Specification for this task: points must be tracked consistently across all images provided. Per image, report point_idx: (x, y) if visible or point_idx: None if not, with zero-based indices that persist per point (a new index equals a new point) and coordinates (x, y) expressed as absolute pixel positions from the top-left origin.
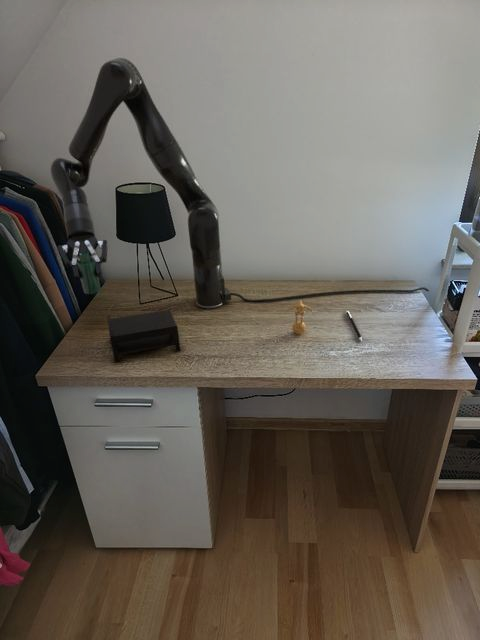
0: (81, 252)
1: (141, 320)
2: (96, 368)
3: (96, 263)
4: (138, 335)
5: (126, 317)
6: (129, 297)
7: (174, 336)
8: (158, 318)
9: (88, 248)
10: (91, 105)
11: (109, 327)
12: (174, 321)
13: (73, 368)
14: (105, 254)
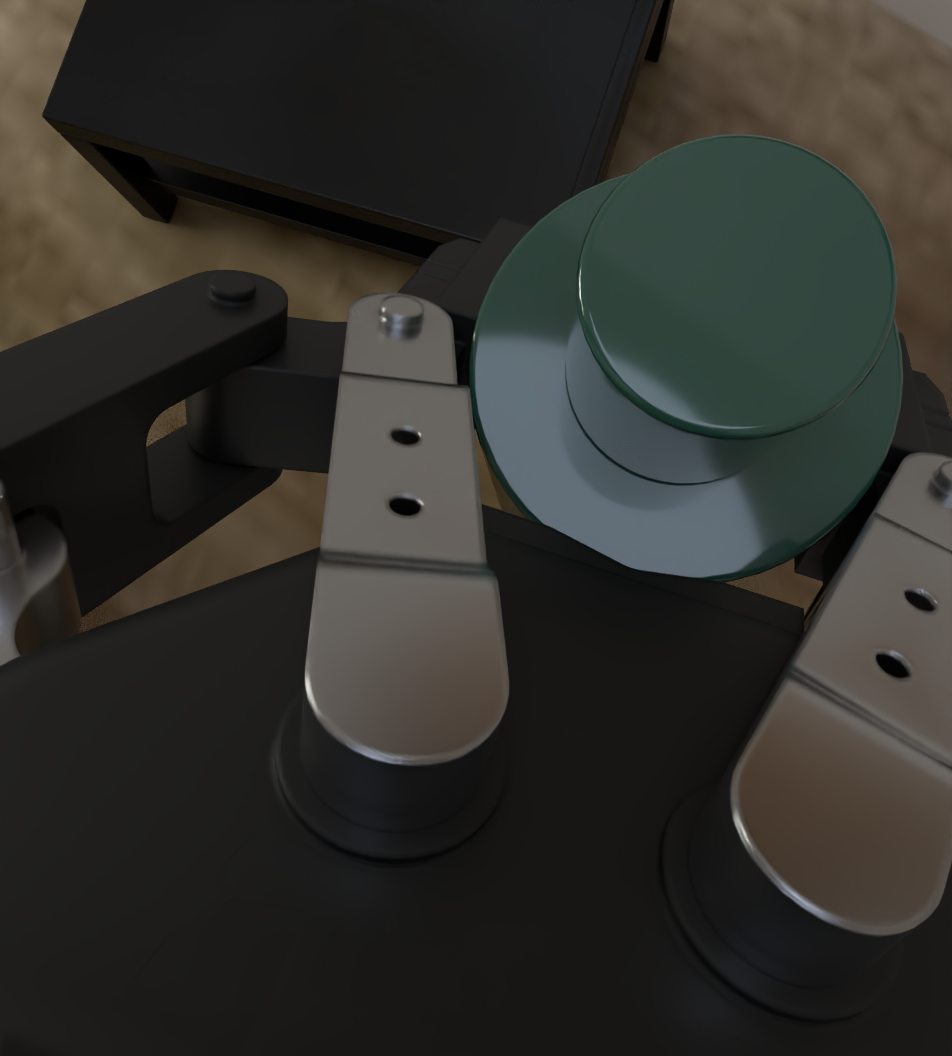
0: (774, 394)
1: (337, 66)
2: (799, 43)
3: (461, 297)
4: None
5: (420, 197)
6: None
7: None
8: (204, 18)
9: (470, 513)
10: None
11: (644, 13)
12: None
13: (936, 131)
14: (144, 300)
